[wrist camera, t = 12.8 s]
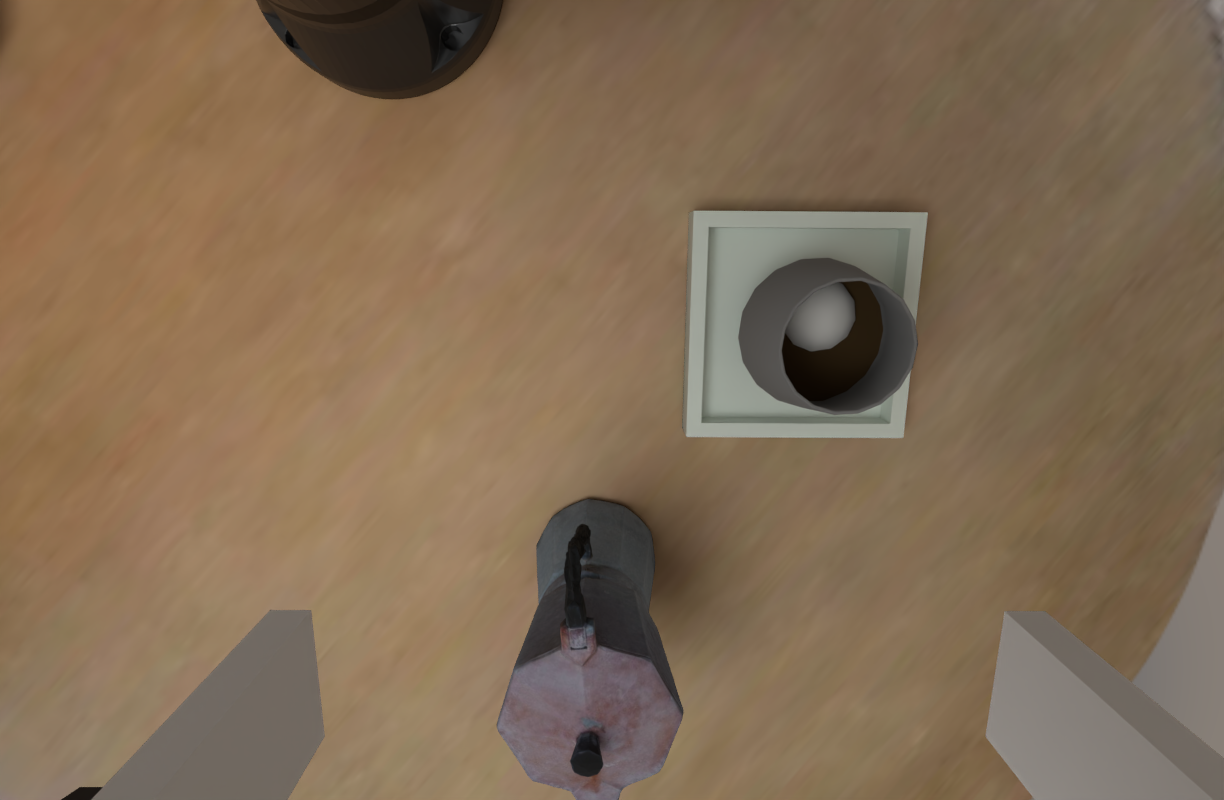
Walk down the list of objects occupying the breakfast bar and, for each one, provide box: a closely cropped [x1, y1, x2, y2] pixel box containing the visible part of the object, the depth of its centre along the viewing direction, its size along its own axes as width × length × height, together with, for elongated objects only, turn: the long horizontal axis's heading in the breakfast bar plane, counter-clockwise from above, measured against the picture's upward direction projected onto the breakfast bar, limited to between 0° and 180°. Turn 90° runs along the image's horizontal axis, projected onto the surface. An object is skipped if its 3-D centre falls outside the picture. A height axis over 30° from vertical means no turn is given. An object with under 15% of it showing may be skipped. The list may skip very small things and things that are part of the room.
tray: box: [682, 211, 928, 438], centre depth 44 cm, size 15×15×2 cm
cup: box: [738, 258, 918, 415], centre depth 40 cm, size 10×9×10 cm
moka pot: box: [497, 499, 683, 800], centre depth 40 cm, size 10×15×20 cm, turn 10°
